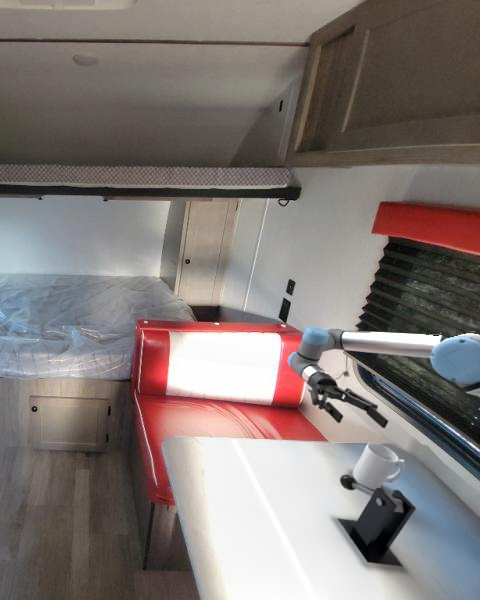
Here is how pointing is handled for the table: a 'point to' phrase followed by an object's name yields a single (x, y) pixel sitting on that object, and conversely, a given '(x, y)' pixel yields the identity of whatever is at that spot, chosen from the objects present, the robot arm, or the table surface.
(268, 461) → the table surface
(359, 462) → the mug
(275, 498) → the table surface
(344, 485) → the lever
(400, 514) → the bracket
